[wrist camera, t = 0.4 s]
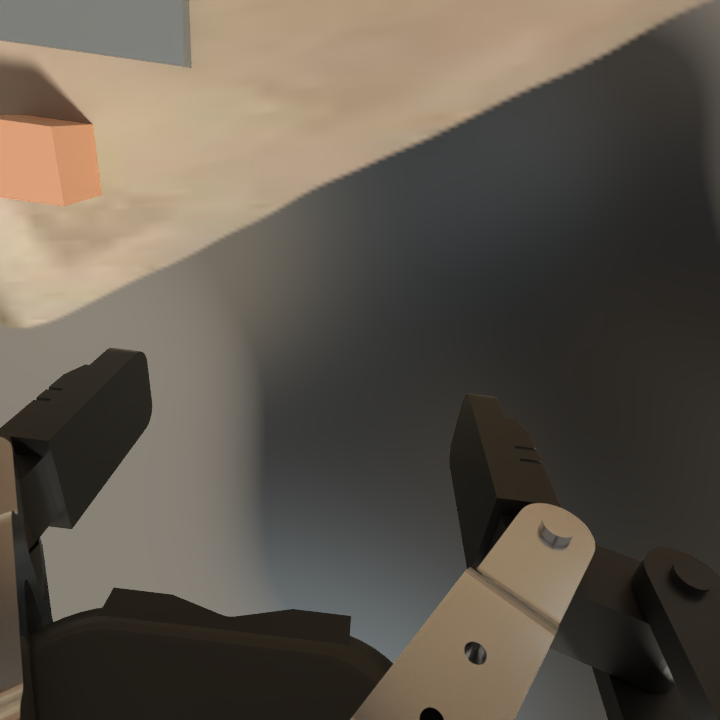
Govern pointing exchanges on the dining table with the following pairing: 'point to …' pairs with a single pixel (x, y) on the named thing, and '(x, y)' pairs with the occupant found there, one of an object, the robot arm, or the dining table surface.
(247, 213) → the dining table surface
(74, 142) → the orange cube
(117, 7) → the plate
